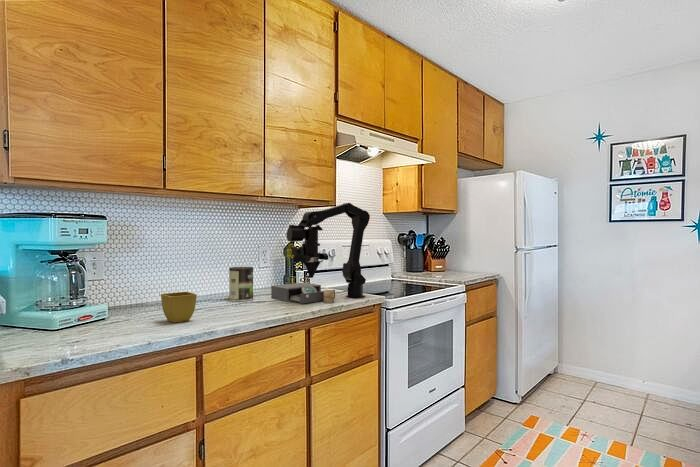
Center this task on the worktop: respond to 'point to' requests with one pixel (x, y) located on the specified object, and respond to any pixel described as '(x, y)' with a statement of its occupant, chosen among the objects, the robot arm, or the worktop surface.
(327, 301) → the oak stand
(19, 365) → the worktop surface
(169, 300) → the flower pot
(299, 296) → the tray
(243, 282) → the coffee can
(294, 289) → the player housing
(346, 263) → the robot arm
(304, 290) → the disc
